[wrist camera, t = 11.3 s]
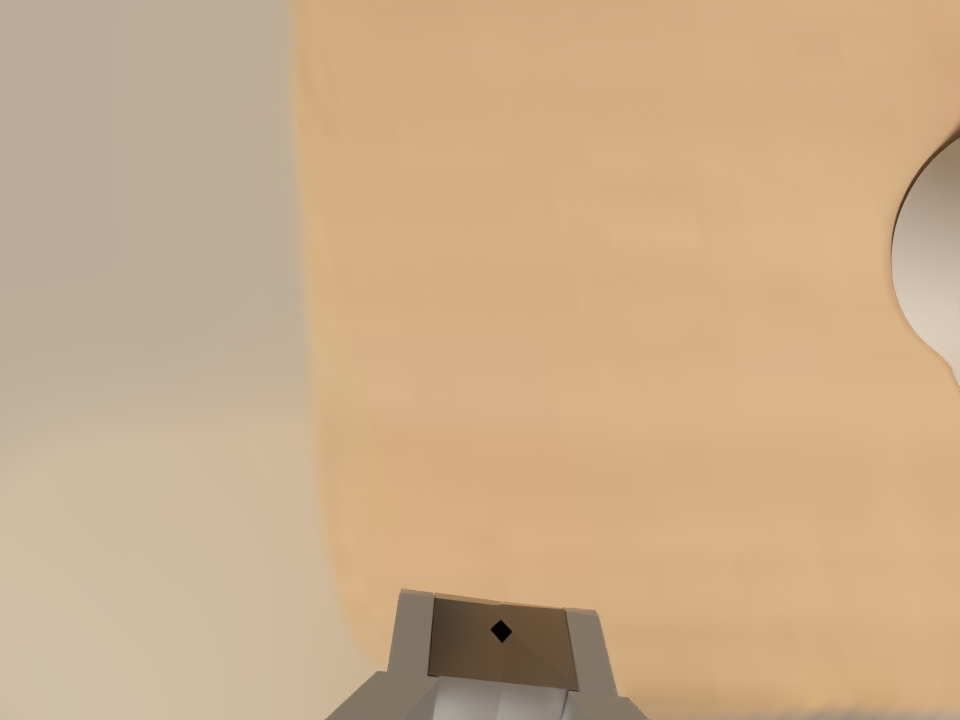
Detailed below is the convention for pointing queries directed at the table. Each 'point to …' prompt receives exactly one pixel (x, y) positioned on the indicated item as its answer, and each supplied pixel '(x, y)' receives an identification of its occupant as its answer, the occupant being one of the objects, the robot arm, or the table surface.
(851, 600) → the table surface
